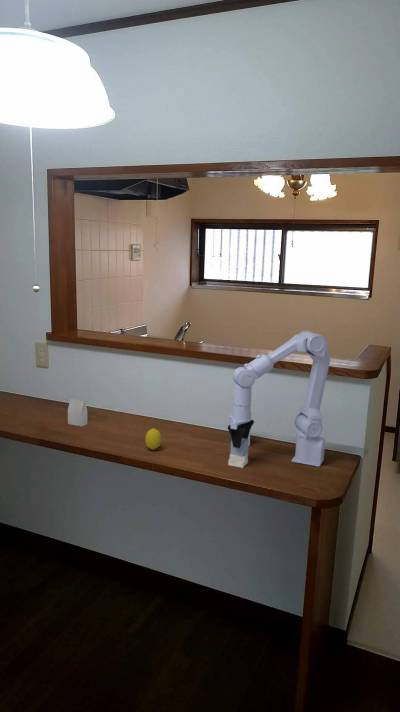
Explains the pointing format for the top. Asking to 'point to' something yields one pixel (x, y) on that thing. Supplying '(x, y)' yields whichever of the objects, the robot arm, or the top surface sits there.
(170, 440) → the top surface
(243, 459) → the slab top
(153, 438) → the lemon
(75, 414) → the white upright block
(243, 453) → the blue cube
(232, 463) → the slab bottom
